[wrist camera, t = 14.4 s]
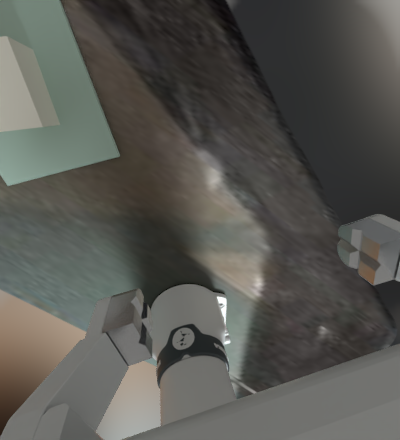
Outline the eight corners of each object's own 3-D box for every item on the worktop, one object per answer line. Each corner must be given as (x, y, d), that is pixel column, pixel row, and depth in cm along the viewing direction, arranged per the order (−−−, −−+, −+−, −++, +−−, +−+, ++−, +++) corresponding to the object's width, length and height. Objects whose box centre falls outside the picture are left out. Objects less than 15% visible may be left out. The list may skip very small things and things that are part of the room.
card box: (33, 49, 25) (7, 36, 21) (60, 124, 29) (42, 127, 24) (-20, 53, 25) (-58, 40, 20) (15, 130, 28) (-11, 133, 24)
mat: (120, 155, 33) (119, 156, 32) (11, 184, 32) (7, 185, 31) (47, -33, 23) (44, -37, 23) (-110, 0, 22) (-118, -4, 22)
